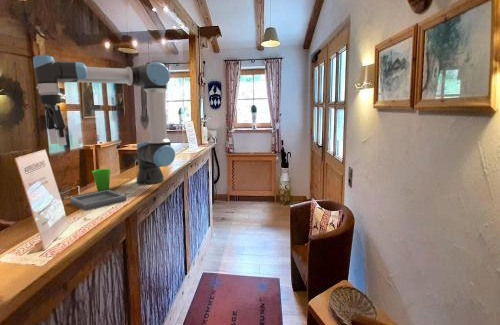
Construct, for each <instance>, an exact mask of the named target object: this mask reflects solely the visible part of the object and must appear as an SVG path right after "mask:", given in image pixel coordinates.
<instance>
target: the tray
mask: <svg viewBox="0 0 500 325" xmlns="http://www.w3.org/2000/svg"><path fill="white" fill-rule="evenodd" d="M123 202H127V196H126V195H125V194H122V193H119V192H116V191H114V190H111V189H109V190H105V191H100V192H98V191H96V192H92V193H87V194H82V195H77V196H73V197H69V203H70V204H71V205H73V206H75V207H77V208H78V209H79V208H80V209H81V210H83V211H85V212H86V211H87V212H88V211H89V210H93V209H98V208H103V207H106V206H110V205H115V203H116V204H119V203H123Z"/></svg>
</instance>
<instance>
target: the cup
mask: <svg viewBox="0 0 500 325" xmlns="http://www.w3.org/2000/svg"><path fill="white" fill-rule="evenodd" d="M91 173H92V176H93V179H94V183H95V186H96V189H97V192H100V191H105V190H110V180H111V168H110V169H109V168H104V169H103V168H100V169H99V168H98V169H95V170H91Z"/></svg>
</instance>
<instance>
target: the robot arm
mask: <svg viewBox="0 0 500 325" xmlns="http://www.w3.org/2000/svg"><path fill="white" fill-rule="evenodd" d="M32 61H33V62H32V63H33V64H32V65H33V70H34V74H35V79H36V84H37V86H36V87H35V88H36V90H37V91H38V94H39V96H38V97H39V102H40V104H41V105H46V106H44V112H45V123H46V124H45V126H46V128H47V131H48V136H49V142H50V145H54V144H55V145H56V144H58V146H59V147H61V146H67V145H68V143H67V138H66V133H65V128H66V125H65V122H64V117H63V115H62V111H61V106H60V105H58V104H62V99H61V95H60V93H61V92H60V87H59V86H60V85H59V83H63V84H65V83H86V84H87V83H91V84H94V83H95V84H96V83H97V84H126V85H127V86H133V87H142V88H143V90H144V92H146V94H147V95H146V96H147V107H148V108H147V109H148V119H149V120H148V121H149V133H150V135H149V136H150V140H148V141H145V142H138V143H137V144H136V155H137V165H138V172H137V176H136V184H138V185H153V184H159V183H162V182H164V181H165V176H164V174H163V172H162V169H161V168H166V167H169V166H170V165H171V164H172V163H173V162H174V161H175V158H176V152H175V149H174V148H173V147H172V146H171V144H172V143H171V140H170V139H169V138H168V131H167V129H168V128H167V115H166V102H165V93H166V91H167V90H168V86H167V84H168V83H169V82H170V78H171V73H170V70H169V69H168V67H166V65H165V64H164V63H162V62H159V61H157V62H155V61H154V62H150V63H145V64H141V65H138V66H126V67H125V68H120V67H118V68H117V67H96V66H86V64H85V63H84V62H79V61H78V62H77V61H55V58H54V57H53V56H51V55H45V54H44V55H43V54H41V55H40V54H39V55H35V56H33V57H32Z"/></svg>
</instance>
